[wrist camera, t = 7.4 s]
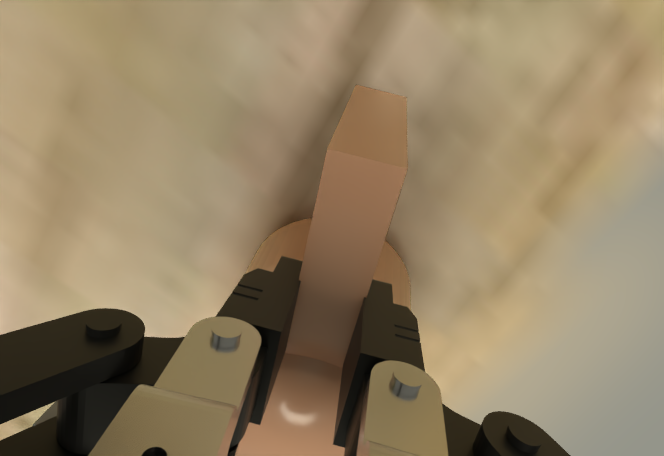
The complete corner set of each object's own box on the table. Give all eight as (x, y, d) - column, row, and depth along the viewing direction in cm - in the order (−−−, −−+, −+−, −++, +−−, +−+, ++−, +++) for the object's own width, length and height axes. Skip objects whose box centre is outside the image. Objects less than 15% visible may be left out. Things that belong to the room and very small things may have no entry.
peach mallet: (282, 56, 15) (181, 122, 8) (484, 106, 15) (552, 215, 8) (242, 328, 22) (165, 494, 15) (385, 365, 21) (376, 551, 15)
